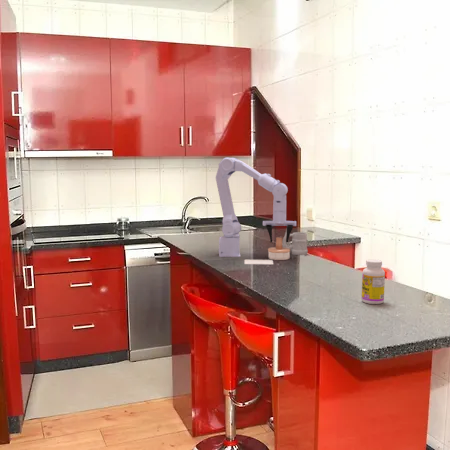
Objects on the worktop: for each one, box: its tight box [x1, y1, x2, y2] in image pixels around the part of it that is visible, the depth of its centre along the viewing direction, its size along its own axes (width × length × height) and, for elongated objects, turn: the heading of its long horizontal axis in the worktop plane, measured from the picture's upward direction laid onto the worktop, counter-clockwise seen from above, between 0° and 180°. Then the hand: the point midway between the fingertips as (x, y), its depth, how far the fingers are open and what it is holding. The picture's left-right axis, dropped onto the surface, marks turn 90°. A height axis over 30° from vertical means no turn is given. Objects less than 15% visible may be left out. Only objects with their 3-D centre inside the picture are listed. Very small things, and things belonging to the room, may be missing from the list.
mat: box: [244, 259, 274, 265], centre depth 233 cm, size 12×10×1 cm
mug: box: [282, 228, 309, 256], centre depth 253 cm, size 8×12×12 cm, turn 96°
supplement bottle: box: [361, 259, 386, 305], centre depth 169 cm, size 7×7×13 cm
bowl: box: [268, 251, 291, 261], centre depth 242 cm, size 9×9×4 cm
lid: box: [267, 236, 291, 253], centre depth 241 cm, size 10×10×6 cm
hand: (279, 242), depth 241 cm, fingers open, 6 cm apart
